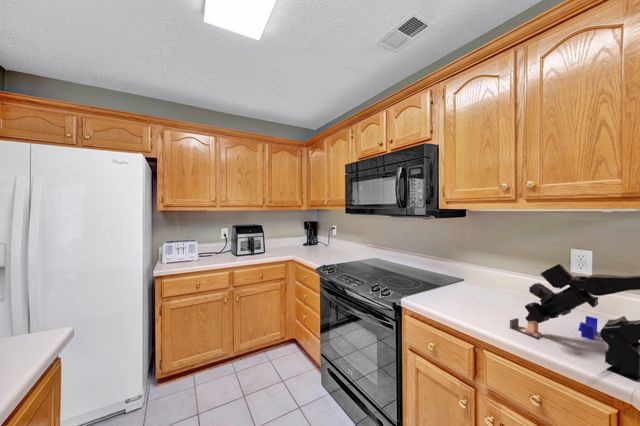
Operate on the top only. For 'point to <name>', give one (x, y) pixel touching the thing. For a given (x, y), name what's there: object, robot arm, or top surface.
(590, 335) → the cable clip
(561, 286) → the robot arm
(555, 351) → the top surface
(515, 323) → the grey block holder
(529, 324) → the block
